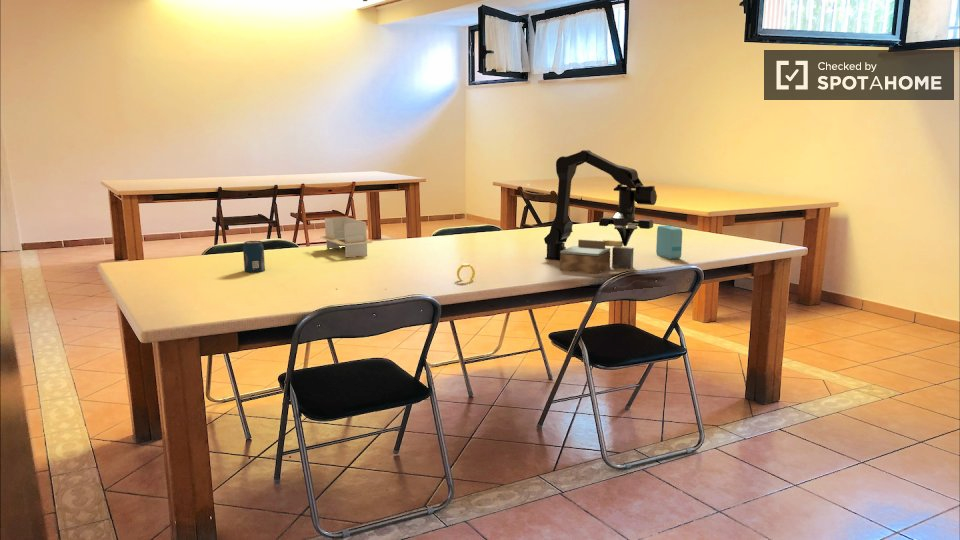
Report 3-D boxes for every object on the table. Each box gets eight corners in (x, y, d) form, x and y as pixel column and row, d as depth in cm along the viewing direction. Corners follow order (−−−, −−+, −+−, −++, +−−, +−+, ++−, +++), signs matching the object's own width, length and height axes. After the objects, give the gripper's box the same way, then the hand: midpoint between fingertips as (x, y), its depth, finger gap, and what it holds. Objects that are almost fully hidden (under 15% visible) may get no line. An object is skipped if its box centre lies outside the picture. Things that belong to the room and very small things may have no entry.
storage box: (560, 270, 262) (560, 254, 261) (574, 264, 274) (574, 248, 273) (597, 273, 255) (597, 257, 254) (609, 267, 267) (610, 251, 266)
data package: (681, 259, 283) (682, 228, 281) (670, 259, 282) (672, 229, 280) (665, 254, 295) (667, 225, 292) (655, 254, 294) (657, 225, 291)
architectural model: (320, 253, 304) (319, 218, 301) (349, 251, 310) (348, 216, 308) (342, 263, 282) (340, 224, 280) (373, 259, 289) (372, 222, 286)
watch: (472, 279, 246) (472, 262, 245) (475, 281, 244) (475, 264, 243) (456, 281, 244) (456, 264, 243) (459, 283, 241) (458, 265, 240)
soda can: (243, 274, 258) (241, 241, 256) (264, 272, 261) (261, 239, 259) (246, 277, 252) (243, 243, 250) (266, 276, 255) (264, 242, 253)
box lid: (560, 253, 261) (560, 244, 260) (574, 247, 273) (574, 239, 272) (597, 256, 254) (597, 246, 253) (610, 250, 266) (610, 241, 266)
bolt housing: (612, 266, 268) (612, 247, 267) (614, 265, 271) (615, 246, 269) (630, 268, 265) (631, 249, 263) (632, 267, 267) (633, 247, 266)
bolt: (602, 245, 269) (602, 240, 268) (604, 244, 271) (604, 239, 270) (621, 246, 266) (621, 241, 265) (622, 246, 267) (622, 240, 267)
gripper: (594, 204, 260) (593, 247, 263) (646, 207, 252) (644, 251, 255) (604, 201, 270) (603, 243, 273) (654, 204, 261) (652, 246, 264)
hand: (625, 246), depth 266 cm, fingers closed
